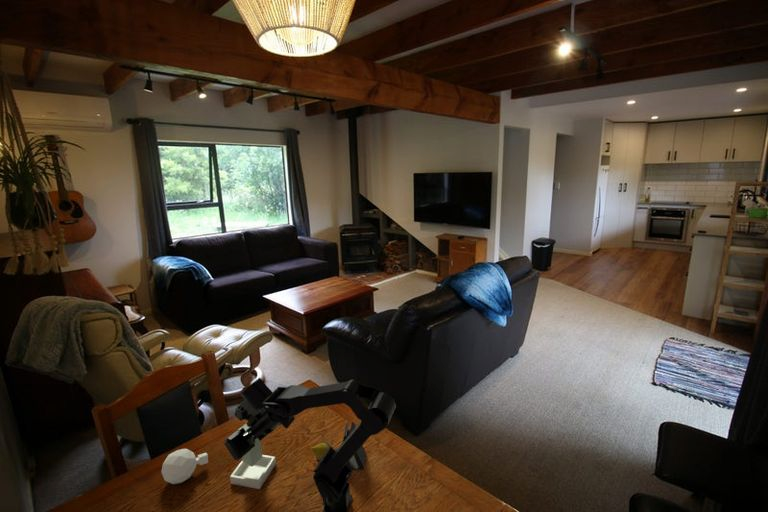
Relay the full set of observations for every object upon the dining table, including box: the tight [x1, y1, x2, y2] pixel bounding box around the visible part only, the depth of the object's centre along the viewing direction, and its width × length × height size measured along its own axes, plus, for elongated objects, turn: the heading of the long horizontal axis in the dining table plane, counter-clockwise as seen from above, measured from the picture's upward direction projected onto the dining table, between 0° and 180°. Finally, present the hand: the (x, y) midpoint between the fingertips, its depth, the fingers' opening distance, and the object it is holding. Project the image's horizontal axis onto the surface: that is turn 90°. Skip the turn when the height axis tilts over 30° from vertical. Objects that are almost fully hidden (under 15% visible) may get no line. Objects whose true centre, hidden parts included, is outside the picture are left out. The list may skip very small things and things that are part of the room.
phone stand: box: [340, 421, 367, 471], centre depth 111 cm, size 9×6×12 cm, turn 88°
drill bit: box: [309, 441, 331, 462], centre depth 113 cm, size 5×5×10 cm
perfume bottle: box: [161, 448, 209, 485], centre depth 108 cm, size 9×9×12 cm
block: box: [237, 423, 264, 467], centre depth 107 cm, size 4×4×11 cm
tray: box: [229, 454, 277, 490], centre depth 109 cm, size 9×9×3 cm
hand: (246, 438), depth 107 cm, fingers closed on block, 4 cm apart
